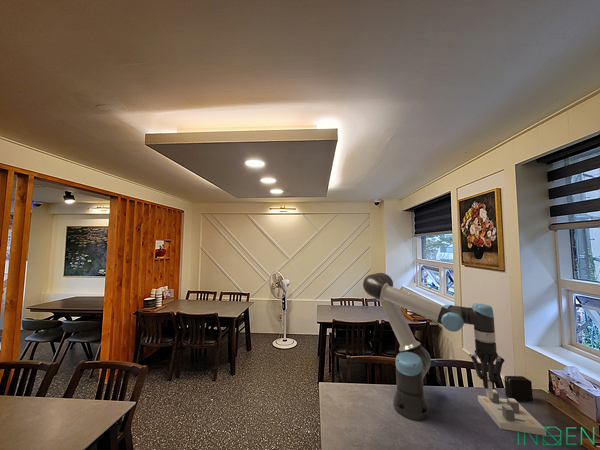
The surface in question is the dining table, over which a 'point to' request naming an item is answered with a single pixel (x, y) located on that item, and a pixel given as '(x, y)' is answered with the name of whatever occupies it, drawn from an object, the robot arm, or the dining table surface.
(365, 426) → the dining table surface
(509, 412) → the slider near
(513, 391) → the electronic device
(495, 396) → the slider far
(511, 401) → the slider mid
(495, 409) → the switch unit
